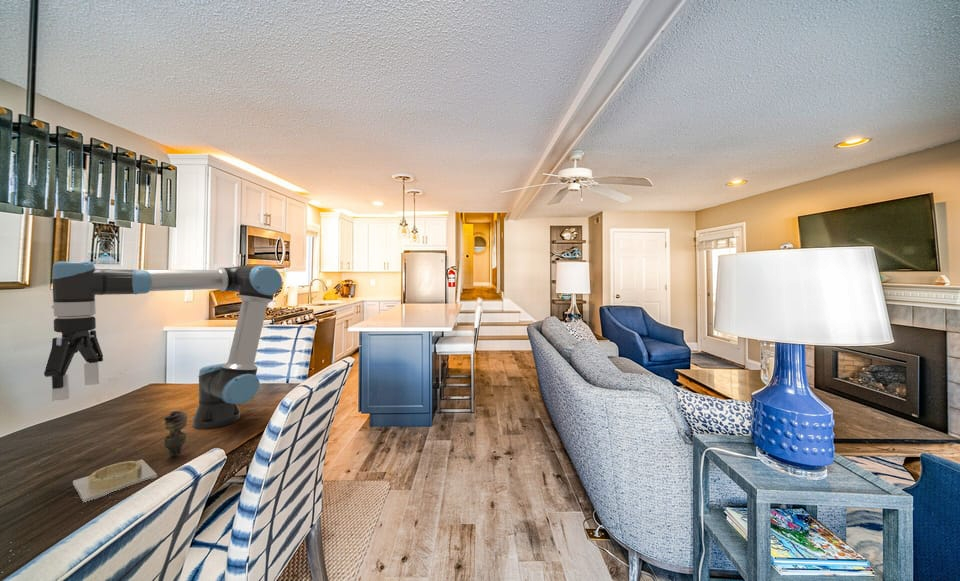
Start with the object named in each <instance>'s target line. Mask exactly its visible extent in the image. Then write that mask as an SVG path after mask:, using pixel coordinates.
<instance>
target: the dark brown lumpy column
mask: <svg viewBox="0 0 960 581" xmlns="http://www.w3.org/2000/svg"><path fill="white" fill-rule="evenodd" d="M164 421H165V422H164V425H165V428H164V429H165V430H167V431H169V434H168V435H166V436H165V437H164V439H163V440H164V447H165V448H166V449H167V450H168V452H169V453H168V454H169V455H168V456H169V457H170V458H171V459H174V457H175V458H177V457H178V456H179V455H181V453H182V447H183V446H184V445H185V443H186V442H187V432H182V430H183V429H184V428H185V427H186V426H187V425H188V424H187V421H188V413H187V412H186V411H181V410H175V411H171V412H169V416H168V415H167V416H165V417H164ZM176 456H177V457H176Z"/></svg>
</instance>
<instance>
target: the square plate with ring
mask: <svg viewBox="0 0 960 581" xmlns="http://www.w3.org/2000/svg"><path fill="white" fill-rule="evenodd" d="M151 478H152V479H151ZM157 478H158V473H156V471H155V470H154V469H153V468H152V467H151V466H149V464H148V463H146V462H145V460H143V459H139V460H128V461H122V462H116V463H113V464H110V465H107V466H106V465H105V466H103V467H102V468H99V469H97V470H95V471H93V472H92V473H91V474H90V475H88V476H87V475H86V476H84V477H80V478H77V479H74V480H72V485H73V487H74V489H75V491H76V492H78V493H77V494H78V496H79V497H80V500H81V499H82V500H81V501H83V502H82V503H83V504H85V503H88V502H90V500H91V501H93V499H94V500H96V499H100V498H102V497H106V496H108V495H110V494H109V493H111V492H114V491H117V490H119V491H121V490H120V489H122V488H125V487H128V486H130V485H133V484H136V483H139V482H141V481H145V480H148V479H151V480H154V479H157ZM148 481H149V480H148ZM145 482H146V481H145ZM128 488H129V487H128ZM125 489H126V488H125ZM122 490H123V489H122ZM117 492H118V491H117ZM114 493H115V492H114ZM107 494H108V495H107ZM111 494H112V493H111ZM87 501H88V502H87ZM84 502H85V503H84Z"/></svg>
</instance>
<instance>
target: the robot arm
mask: <svg viewBox="0 0 960 581" xmlns="http://www.w3.org/2000/svg"><path fill="white" fill-rule="evenodd" d="M51 276H52V277H51V281H52V282H51V283H52V285H51V286H52V302H53V305H52V306H51V308H52V309H53V317H57V318H54V319H53V331H54V332H56V333H61V337H53V338H52V341H51V342H52V344H51V349H50V352H49V356H48V359H47V363H46V366H45V370H44V372H43V374H44V376H45V377H46V378H48V377H49V378H50V377H51V394H52V395H51V399H52V402H54V401H62V400H63V401H64V400H69V398H70V389H69V388H70V386H69V384H70V383H69V381H70V380H69V374H66V373H67V372H68V369H69V367H70V364H71V363H72V360H73V358H74V356H75V354H77V353H78V352H79V354H80V355H81V356H82V358H83V359H84V361H85V363H83V364H84V365H83V368H84V373H83V374H84V386H89V385H91V386H92V385H93V386H94V385H98V384H100V382H99V381H100V380H99V377H100V376H99V375H100V374H99V372H100V371H99V362H103V361H104V358H103V356H104V354H103V352H102V348H101V346H100V343H99V341H98V338H97V331H96V329H97V328H96V327H97V325H96V324H97V323H96V322H97V321H96V317H95V316H94V315H96V311H97V310H96V295H97V296H102V295H105V296H106V295H107V296H109V295H139V294H140V295H144V294H147V293H150V292H165V291H193V290H194V291H195V290H201V291H202V290H218V291H220V292H237V293H239V294H238V297H239V298H240V300H241V305H240V308H239V313H238V317H237V321H236V325H235V330H234V334H233V339H232V343H231V348H230V351H229V356H228V359H227V362H225V363H218V364H217V363H216V364H212V365H206V366H203V367H201V368H200V369H199V374H198V407H197V409H196V412H195V414H194V417H193V419H192V427H194V428H196V429H214V427H215V428H220V427H224V426H226V425H227V426H228V425H230V424H233V423H235V422H237V421H238V420H240V418H241V411H240V408H239V406H238V405H242V404H245V403H247V402H249V401H250V400H252V399H253V398H254V397H255V396H256V395H257V394H258V393H259V390H260V387H261V386H260V379H259V377H257V373H258V372H257V371H258V366H256V364H255V360H256V356H257V353H258V352H257V351H258V347H259V343H260V338H261V333H262V330H263V325H264V321H265V316H266V313H267V312H266V311H267V307H268V304H270V303H271V302H273V300H274V296H275V294H277V293H278V292H279V291H280V290H281V289H282V286H283V278H282V275H281V273H280V272H279V271H278V270H277V269H276V268H275V267H272V266H269V265H262V264H259V265H240V266H239V265H238V266H230V267H219V268H217V269H109V268H103V269H102V268H101V269H100V268H99V269H98V268H96V267H95V265H94V263H93V262H89V261H61V260H59V261H57V262H54V263H53V264H52V275H51Z"/></svg>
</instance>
